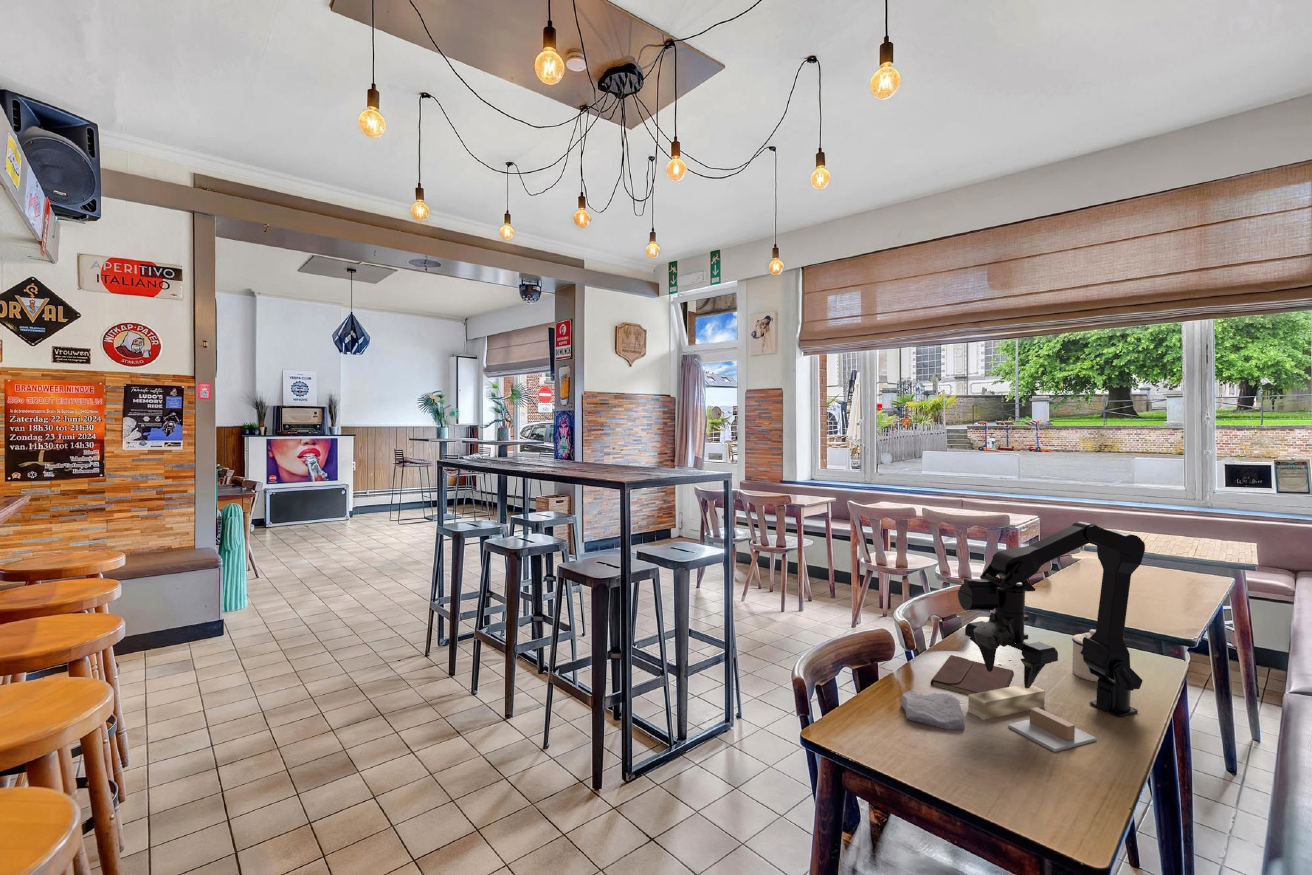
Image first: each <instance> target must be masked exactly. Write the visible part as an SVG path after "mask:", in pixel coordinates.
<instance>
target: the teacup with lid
mask: <svg viewBox="0 0 1312 875" xmlns="http://www.w3.org/2000/svg"><path fill="white" fill-rule="evenodd" d="M1095 632H1096V629H1092V628H1091V629H1090V630H1089V632H1084V633H1078V634H1074V635H1073V636H1072V638H1071V640H1072V665H1071V666H1072V667H1071V668H1072V669H1071V670H1072V671H1071V672H1072V673H1073V674H1074V675H1075V676H1077V677H1078V678H1081V679H1083V680H1086V681H1090V682H1094V681H1095V682H1094V683H1097V680H1098V676H1096V675H1094V674H1091V673H1090V671H1089V668H1088V666H1087V664H1086V663H1085V662H1084V660H1083V655H1082V654H1080V653H1081V651H1082V648H1083V638H1084V637H1087V638H1090V637H1091V636H1092V635H1093V634H1094V633H1095Z"/></svg>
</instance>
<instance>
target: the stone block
mask: <svg viewBox="0 0 1312 875" xmlns="http://www.w3.org/2000/svg"><path fill="white" fill-rule="evenodd" d="M960 703H961V702H960V699H959V698H957V697H956V696H954V695H952V694H949V693H930V694H922V693H917V692H915V691H913V690H908V691H907V690H906V691H905V692H904V693H903V694H902V696H901V707H902V709H903V710H904V711H905V715H906V719H907V720H910V721H913V722H917V723H922V724H926V725H929V726H933V727H937V728H942V729H945V730H964V729H965V725H966V724H965V719H964V718H965V717H964V714H963V710H962V707H961V704H960Z"/></svg>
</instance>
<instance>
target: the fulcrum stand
mask: <svg viewBox="0 0 1312 875" xmlns="http://www.w3.org/2000/svg"><path fill="white" fill-rule="evenodd" d="M1007 727H1008V728H1009V729H1010V730H1012V731H1015V733H1016V732H1017V733H1018V734H1020V735H1022V736H1024V737H1025V738H1027V739H1029V740H1031V741H1033V742H1035V743H1037V744H1039V745H1041V746H1043V747H1045V748H1046V749H1048V750H1051V751H1052V752H1054V753H1056V752H1061V751H1064V750H1067V749H1071V748H1075V747H1078V746H1083V745H1086V744H1089V743H1093V742H1097V737H1096V736H1094V735H1092V734H1090V733H1088V732H1085V731H1083V730H1081V729H1080V728H1079V729H1078V728H1077V727H1076V725H1075V724H1073V723H1072V722H1070V721H1067V720H1066V719H1063V718H1061V717H1058V716H1057V715H1055V714H1053V713H1050V712H1048V711H1046V710H1044V709H1042V708H1038V707H1035V708H1030V710H1029V718H1028V719H1026V720H1021V721H1018V722H1016V721H1015V722H1012V723H1009V724H1007Z"/></svg>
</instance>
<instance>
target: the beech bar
mask: <svg viewBox="0 0 1312 875" xmlns="http://www.w3.org/2000/svg"><path fill="white" fill-rule="evenodd" d="M1045 694H1046V691H1045V690H1044V689H1042V688H1040V687H1038V686H1035V685H1033V684H1032V685H1031V687H1030V688H1027V689H1026V688H1025V686H1024V683H1023V684H1018V685H1012V686H1008V687H1007V688H1001V689H996V690H991V691H985V692H980V693H975V694H967V695H968V696H967V697H968V702H967V705H968V707H967V709H968V710H967V711H968V712H969V713H971V714H973V715H974V716H976V717H978V718H979V719H981V720H989V719H993V718H994V719H995V718H998V717H1003V716H1008V715H1013V714H1017V713H1023V712H1027V711H1030V708H1035V707H1038V708H1040V709H1042V708H1045V700H1046V699H1045V698H1046V697H1045V696H1046V695H1045Z"/></svg>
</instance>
